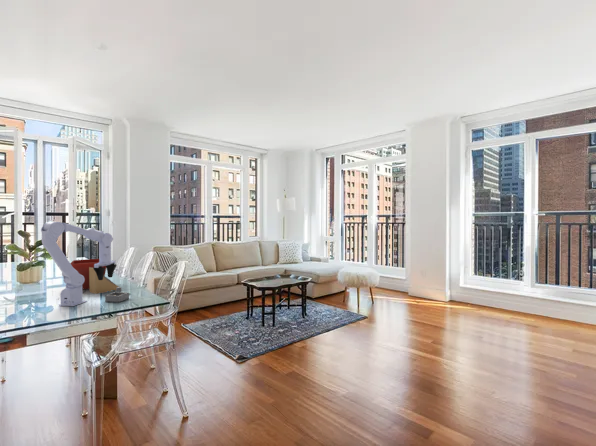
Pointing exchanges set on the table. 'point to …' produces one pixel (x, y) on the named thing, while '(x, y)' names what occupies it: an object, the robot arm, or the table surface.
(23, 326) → the table surface
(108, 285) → the sandwich container
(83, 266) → the plant pot
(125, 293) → the box
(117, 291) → the lid
